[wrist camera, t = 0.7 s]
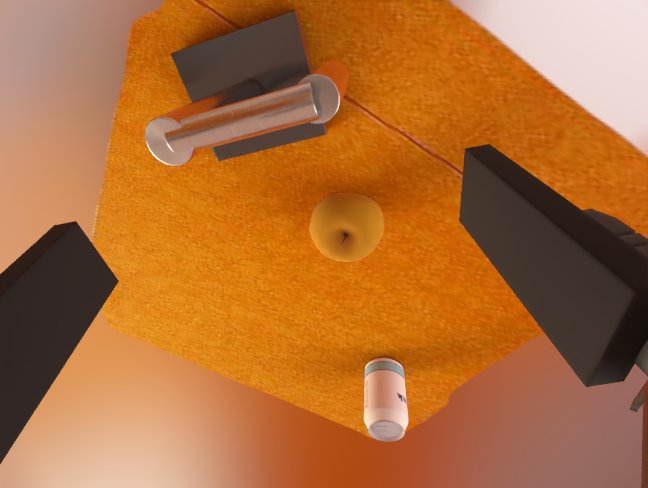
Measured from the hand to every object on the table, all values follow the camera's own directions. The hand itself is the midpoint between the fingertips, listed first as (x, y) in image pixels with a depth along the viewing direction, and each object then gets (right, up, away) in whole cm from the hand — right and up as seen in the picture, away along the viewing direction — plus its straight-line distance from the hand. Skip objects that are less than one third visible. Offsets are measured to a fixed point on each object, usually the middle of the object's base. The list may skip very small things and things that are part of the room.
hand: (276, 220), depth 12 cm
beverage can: (+13, -23, +50) cm, 57 cm away
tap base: (-6, +16, +27) cm, 32 cm away
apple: (+5, +4, +33) cm, 34 cm away
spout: (-2, +16, +24) cm, 29 cm away
